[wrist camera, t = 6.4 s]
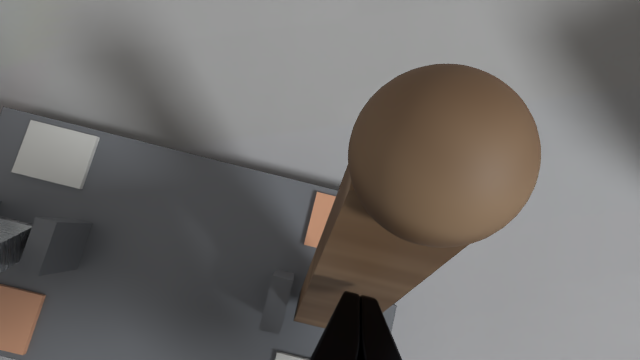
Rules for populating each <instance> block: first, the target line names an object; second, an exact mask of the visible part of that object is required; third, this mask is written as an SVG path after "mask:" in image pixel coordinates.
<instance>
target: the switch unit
mask: <svg viewBox="0 0 640 360" xmlns="http://www.w3.org/2000/svg"><path fill="white" fill-rule="evenodd" d="M337 193H338V191H337V190H333V189H329V188H325V187H321V186H317V185H313V184H309V183H305V182H301V181H297V180H293V179H289V178H286V177H282V176H278V175H274V174H270V173H266V172H262V171H258V170H254V169H250V168H246V167H242V166H238V165H234V164H230V163H226V162H222V161H218V160H214V159H210V158H206V157H202V156H198V155H194V154H190V153H186V152H182V151H178V150H174V149H170V148H166V147H162V146H158V145H154V144H150V143H146V142H142V141H138V140H134V139H130V138H126V137H122V136H118V135H114V134H110V133H106V132H103V131H99V130H95V129H91V128H87V127H83V126H79V125H75V124H71V123H67V122H63V121H59V120H55V119H51V118H47V117H43V116H39V115H35V114H31V113H27V112H23V111H19V110H15V109H11V108H7V107H3V108H2V111H1V114H0V216H3V217H7V218H11V219H15V220H19V221H23V222H27V223H31V224H33V226H32V229H31V231H30V234H29V237H28V240H27V243H26V245H25V248H24V251H23V254H22V257H21V259H20V262H18V263H16V264H15V265H13V266H11V267H10V268H8V269H6V270H5V271H3V272H1V273H0V356H4V357H8V358H12V359H16V360H310V358H311V356H312V354H313V352H314V350H315V348H316V346H317V344H318V342H319V340H320V338H321V336H322V334H323V332H324V330H325V329H324V328H320V327H316V326H312V325H308V324H304V323H300V322H296V321H294V315H295V311H296V306H297V302H298V298H299V294H300V291H301V288H302V286H303V283H304V280H305V278H306V275H307V272H308V270H309V267H310V264H311V262H312V259H313V256H314V254H315V251H316V248H317V246H318V243H319V240H320V238H321V235H322V232H323V230H324V227H325V225H326V222H327V219H328V217H329V214H330V211H331V209H332V206H333V203H334V201H335V198H336V195H337ZM396 307H397V306H396V305H395V303H394V304H393V305H392V306H391V307H389V308H388V309H387V310H386V311H384V312H383V315H384V318H385V320H386V322H387V325H388V327H389V330H390V332H391V331H392V326H393V321H394V316H395V311H396Z"/></svg>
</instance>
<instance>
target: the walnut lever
mask: <svg viewBox="0 0 640 360" xmlns="http://www.w3.org/2000/svg"><path fill="white" fill-rule="evenodd" d="M540 162H541V146H540V139H539V135H538V130H537V126H536V124H535V121H534V119H533V117H532V115H531V113H530V111H529V109H528V108H527V106H526V104H525V103H524V102H523V100H522V99H521V98H520V97H519V95H518V94H517V93H516V92H515V91H514V90H513V89H511V88H510V87H509V86H508V85H507V84H505V83H504V82H503V81H501V80H500V79H498V78H496V77H495V76H493V75H491V74H489V73H487V72H484V71H482V70H479V69H476V68H473V67H469V66H465V65H458V64H434V65H429V66H424V67H419V68H416V69H413V70H410V71H408V72H406V73H403V74H401V75H399V76H397V77H395V78H394V79H393V80H391V81H390V82H388V83H387V84H385V85H384V86H382V87H381V88H380V89H379V90H378V91H377V92H376V93H375V94H374V95H373V96H372V97H371V98H370V99H369V101H368V102H367V103H366V105H365V106H364V108H363V109H362V111H361V112H360V114H359V116H358V118H357V120H356V122H355V125H354V127H353V130H352V134H351V138H350V142H349V150H348V166H347V169H346V171H345V174H344V177H343V179H342V182H341V185H340V187H339V190H338V193H337V195H336V198H335V201H334V203H333V206H332V209H331V211H330V214H329V217H328V219H327V222H326V225H325V227H324V230H323V232H322V235H321V238H320V240H319V243H318V246H317V248H316V251H315V254H314V256H313V259H312V262H311V264H310V267H309V270H308V272H307V275H306V278H305V280H304V283H303V286H302V288H301V291H300V294H299V298H298V302H297V306H296V311H295V315H294V321H296V322H300V323H304V324H308V325H312V326H316V327H320V328H324V329H325V328H326V326H327V324H328V322H329V320H330V318H331V316H332V314H333V312H334V310H335V308H336V306H337V304H338V302H339V300H340V298H341V296H342V294H343V292H344V291H349V292H353V293H357V294H359V296H361V295H365V296H369V297H373V298H375V299H376V300H377V301H378V303H379V305H380V308H381V310H382V313H383V312H384V311H386V310H387V309H388V308H389V307H391V306H392V305H393V304H394V303H396V302H397V301H398V300H399V299H401V298H402V297H403V296H404V295H406V294H407V293H408V292H409V291H411V290H412V289H413V288H414V287H416V286H417V285H418V284H420V283H421V282H422V281H423V280H425V279H426V278H427V277H428V276H430V275H431V274H432V273H433V272H435V271H436V270H437V269H438V268H440V267H441V266H442V265H443V264H445V263H446V262H447V261H449V260H450V259H451V258H452V257H454V256H455V255H456V254H457V253H459V252H460V251H461V250H462V249H464V248H465V247H466V246H467V245H469V244H471V243H474V242H477V241H480V240H482V239H485V238H487V237H489V236H490V235H492V234H494V233H495V232H497V231H499V230H500V229H502V228H503V227H504V226H506V225H507V224H508V223H509V222H510V221H511V220H512V219H513V218H515V217H516V216H517V214H518V213H519V212H520V211H521V209H522V208H523V207H524V205H525V204H526V202H527V201H528V199H529V197H530V195H531V193H532V191H533V189H534V187H535V185H536V181H537V178H538V174H539V169H540Z"/></svg>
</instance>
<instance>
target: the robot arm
mask: <svg viewBox="0 0 640 360" xmlns="http://www.w3.org/2000/svg"><path fill="white" fill-rule="evenodd" d="M310 360H402V359H401V356H400V354H399V351H398V349H397V346H396V344H395V342H394V339H393V337H392V334H391V332H390V330H389V327H388V325H387V322H386V320H385V318H384V315H383V313H382V310H381V308H380V305H379V303H378V301H377V300H376V299H375V298H373V297H369V296H365V295H361V296H359V294H357V293H353V292H349V291H344V292H343V294H342V296H341V298H340V300H339V302H338V304H337V306H336V308H335V310H334V312H333V314H332V316H331V318H330V320H329V322H328V324H327V326H326V328H325V330H324V332H323V334H322V336H321V338H320V340H319V342H318V344H317V346H316V348H315V350H314V352H313V354H312V356H311V358H310Z"/></svg>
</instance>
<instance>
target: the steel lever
mask: <svg viewBox="0 0 640 360" xmlns="http://www.w3.org/2000/svg"><path fill="white" fill-rule="evenodd" d="M32 226H33V224H31V223H27V222H23V221H19V220H15V219H11V218H7V217H3V216H0V273H1V272H3V271H5V270H6V269H8V268H10V267H11V266H13V265H15V264H16V263H18V262H20V259H21V257H22V254H23V251H24V248H25V245H26V243H27V240H28V237H29V234H30V231H31V229H32Z"/></svg>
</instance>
